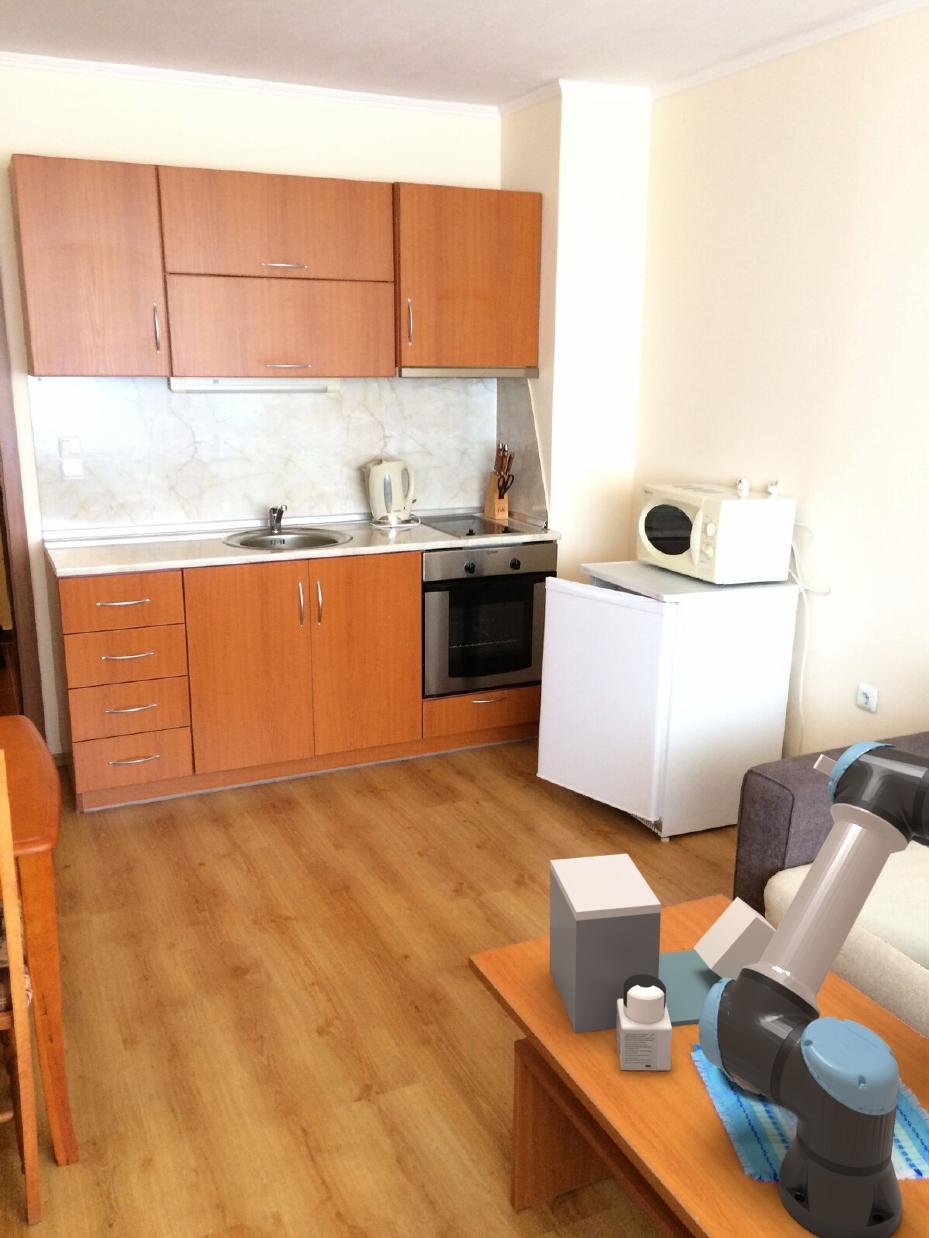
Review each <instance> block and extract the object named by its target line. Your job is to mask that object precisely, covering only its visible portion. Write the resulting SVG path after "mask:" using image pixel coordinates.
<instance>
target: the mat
mask: <svg viewBox="0 0 929 1238" xmlns="http://www.w3.org/2000/svg"><path fill="white" fill-rule="evenodd" d="M659 979H660V980H661V981H662V982H663V983H664V985H665V987H666V1006H667V1010H668V1014H669V1018H670V1022H671V1026H672V1027H675V1026H676V1027H677V1026H685V1025H687V1026H688V1025H693V1024H696V1025H697V1024H699V1018H700V1013H701V1009H702V1006H703V1003H704V1001H705V998H706V996H707V994H708V993H709V991H710V989H711V988H712V987H713V985H714V984H716V983H718V982H719V980H721V979H723V978H722V977H720V976H719V975H718V974H716V973H715V972H714V971H712V970H711V969H710V968H709V967H708V965H707V964H706V963H705V962H704V960H703V959H702V958H701V957H700V955H699V954H698V953H697V952H696V950H695V949H687V950H680V951H679V950H677V951H670V952H659Z"/></svg>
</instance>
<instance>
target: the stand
mask: <svg viewBox="0 0 929 1238" xmlns="http://www.w3.org/2000/svg"><path fill="white" fill-rule="evenodd" d="M549 862H550V863H549V865H550V867H549V869H550V872H549V873H550V874H549V876H550V877H549V973H550V972H551V973H550V975H552V976H551V978H552V980H554V981H553V983H554V986H555V988H556V991H557V992H558V995H559V998H560V1000H561V1002H562V1005H563V1007H564V1010H565V1012H566V1014H567V1017H568V1020H569V1022H570V1024H571V1027H572V1029H573V1031H574V1033H575V1034H577V1033H578V1034H579V1033H586V1032H587V1033H588V1032H595V1031H597V1032H598V1031H604V1030H606V1031H607V1030H616V1023H617V1000H618V999H623V991H624V983H625V981H626V980H627V979H628V978H630V977H631V976H634V975H640V974H644V975H651V976H654V977H656V978H658V979H659V953H660V950H661V949H660V948H661V947H660V946H661V945H660V944H661V939H660V938H661V913H662V904H661V902H660V900H659V899H658V897H657V896H656V894H655V893H654V891H653V890H652V888H651V887H650V885H649V884H648V883H647V881H646V879H645V878H644V877H643V875H642V873H641V872H640V870H639V869H638V868H637V866H636V864H635V863H634V861H633V860H632V858H631V857H630V855H629V854H628V853H620V854H619V853H618V854H609V855H597V856H584V857H574V858H573V857H572V858H564V859H563V858H560V859H550V861H549Z"/></svg>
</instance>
